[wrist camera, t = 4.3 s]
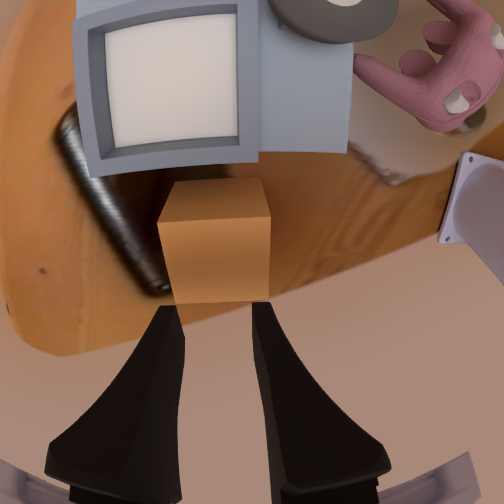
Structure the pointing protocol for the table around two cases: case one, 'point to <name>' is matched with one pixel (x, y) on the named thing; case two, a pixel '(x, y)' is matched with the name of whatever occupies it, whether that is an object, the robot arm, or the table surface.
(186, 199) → the orange cube
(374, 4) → the wheel
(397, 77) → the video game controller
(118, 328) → the table surface
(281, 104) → the chassis
